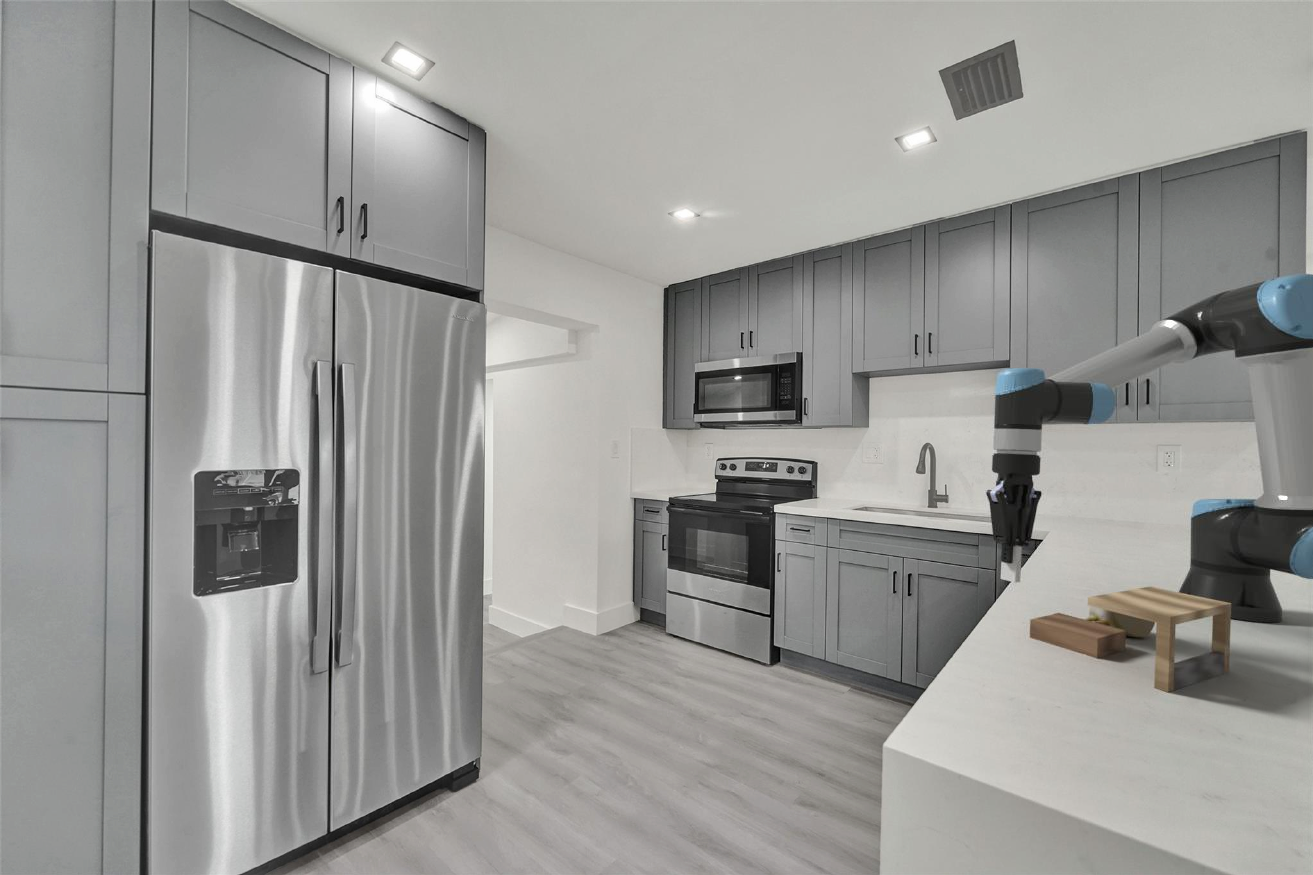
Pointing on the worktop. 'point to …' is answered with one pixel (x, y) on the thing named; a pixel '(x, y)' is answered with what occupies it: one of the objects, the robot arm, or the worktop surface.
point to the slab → (1078, 635)
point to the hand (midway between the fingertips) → (1010, 580)
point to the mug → (1121, 622)
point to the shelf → (1166, 614)
